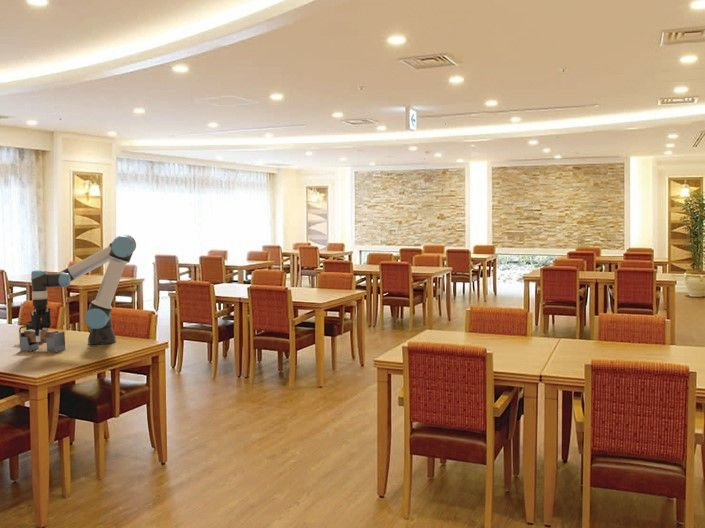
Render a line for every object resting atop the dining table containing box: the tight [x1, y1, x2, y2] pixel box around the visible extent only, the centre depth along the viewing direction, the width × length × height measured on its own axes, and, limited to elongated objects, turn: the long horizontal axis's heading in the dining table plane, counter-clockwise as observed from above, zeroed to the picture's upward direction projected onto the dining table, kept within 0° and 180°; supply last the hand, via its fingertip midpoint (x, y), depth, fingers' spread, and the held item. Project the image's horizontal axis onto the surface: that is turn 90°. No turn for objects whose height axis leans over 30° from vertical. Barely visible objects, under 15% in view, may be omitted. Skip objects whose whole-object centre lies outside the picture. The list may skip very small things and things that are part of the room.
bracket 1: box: [18, 331, 40, 352], centre depth 382 cm, size 5×9×10 cm, turn 166°
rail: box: [23, 329, 59, 344], centre depth 380 cm, size 18×5×6 cm, turn 75°
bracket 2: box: [46, 330, 66, 353], centre depth 378 cm, size 5×9×10 cm, turn 166°
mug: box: [18, 319, 44, 333], centre depth 405 cm, size 11×15×12 cm
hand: (42, 340), depth 380 cm, fingers closed on rail, 5 cm apart
